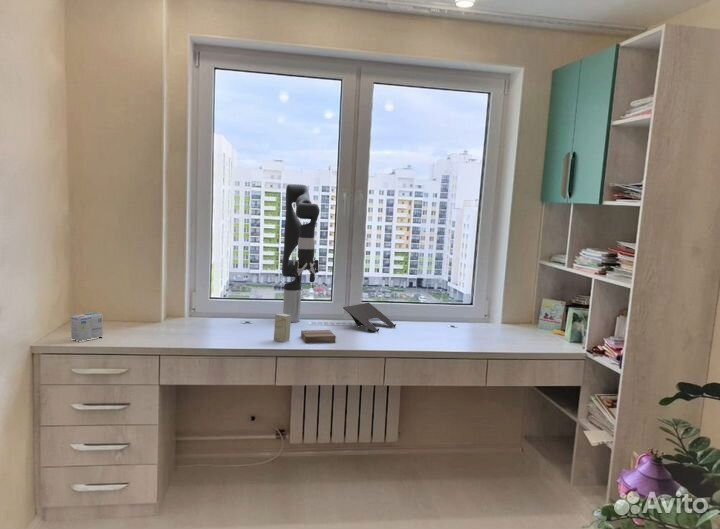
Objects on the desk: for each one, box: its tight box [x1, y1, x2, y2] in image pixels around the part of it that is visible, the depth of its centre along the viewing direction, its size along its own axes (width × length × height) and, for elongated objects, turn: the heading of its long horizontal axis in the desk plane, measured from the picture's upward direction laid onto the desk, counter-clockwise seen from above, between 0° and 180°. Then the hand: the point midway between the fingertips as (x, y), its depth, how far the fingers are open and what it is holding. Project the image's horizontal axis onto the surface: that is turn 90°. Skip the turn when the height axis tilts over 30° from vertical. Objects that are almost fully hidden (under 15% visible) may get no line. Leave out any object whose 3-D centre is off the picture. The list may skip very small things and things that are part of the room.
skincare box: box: [273, 312, 292, 343], centre depth 236 cm, size 6×4×12 cm
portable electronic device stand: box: [342, 302, 397, 333], centre depth 274 cm, size 23×23×9 cm
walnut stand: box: [300, 329, 337, 344], centre depth 241 cm, size 12×14×3 cm
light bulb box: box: [70, 311, 104, 341], centre depth 221 cm, size 11×7×11 cm, turn 152°
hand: (304, 282), depth 234 cm, fingers open, 8 cm apart
